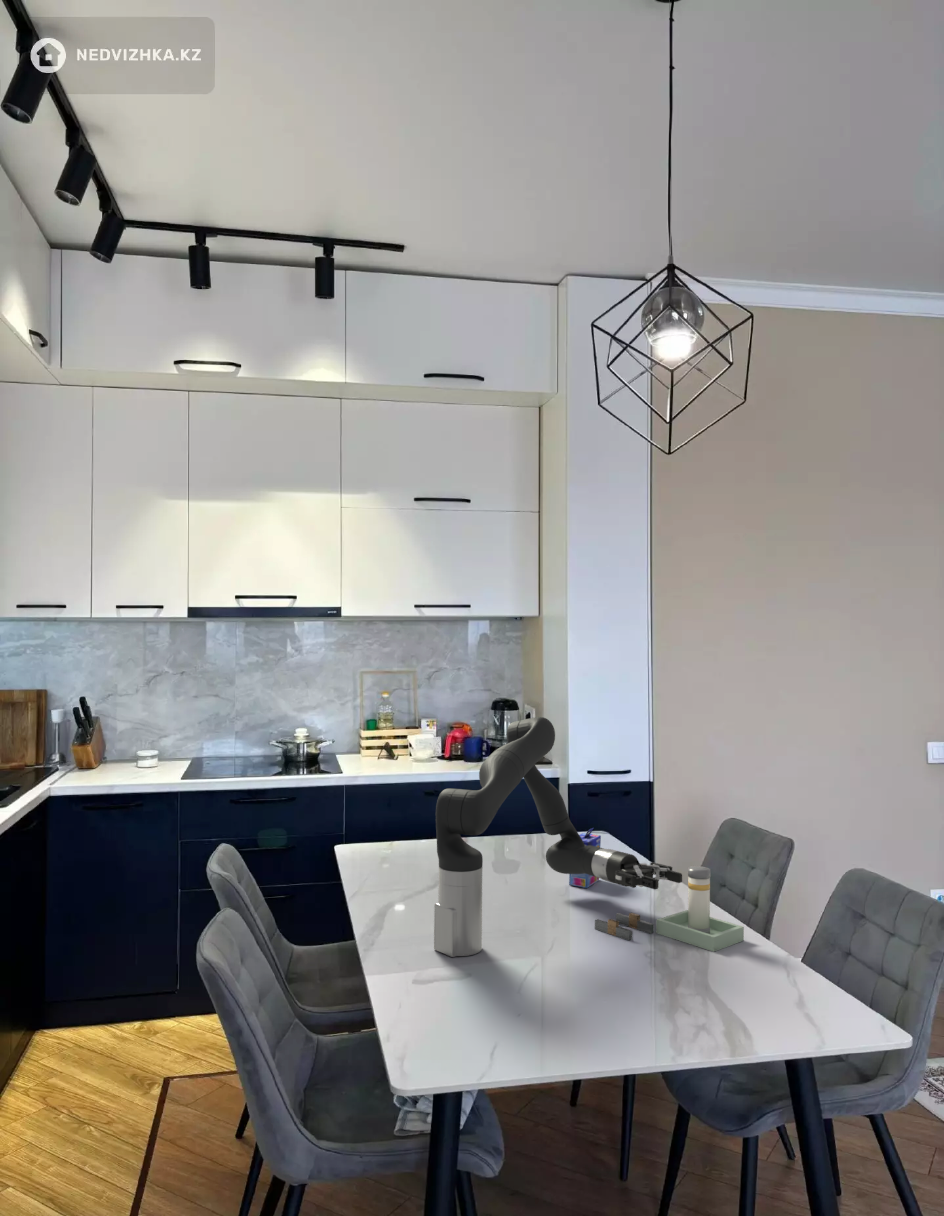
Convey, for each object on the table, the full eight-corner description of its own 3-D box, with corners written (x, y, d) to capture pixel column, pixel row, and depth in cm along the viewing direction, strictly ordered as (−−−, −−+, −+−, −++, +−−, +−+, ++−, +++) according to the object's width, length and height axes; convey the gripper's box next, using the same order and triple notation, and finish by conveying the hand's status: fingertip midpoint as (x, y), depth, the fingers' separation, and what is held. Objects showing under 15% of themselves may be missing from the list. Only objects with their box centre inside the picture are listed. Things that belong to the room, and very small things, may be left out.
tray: (713, 951, 191) (713, 937, 191) (656, 933, 202) (656, 919, 203) (743, 940, 198) (743, 926, 198) (686, 923, 210) (686, 910, 210)
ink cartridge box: (588, 889, 237) (588, 833, 237) (568, 886, 239) (568, 830, 240) (601, 880, 245) (601, 825, 246) (581, 877, 248) (582, 823, 248)
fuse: (701, 938, 197) (701, 873, 197) (683, 932, 201) (683, 868, 201) (714, 933, 200) (714, 869, 200) (696, 928, 204) (696, 865, 204)
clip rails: (629, 941, 197) (629, 927, 197) (594, 929, 205) (594, 915, 205) (653, 933, 203) (653, 919, 203) (618, 921, 210) (618, 908, 210)
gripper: (595, 855, 215) (649, 870, 202) (634, 846, 224) (689, 860, 211) (594, 887, 214) (649, 904, 202) (634, 877, 224) (688, 892, 211)
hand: (669, 881), depth 207 cm, fingers open, 8 cm apart
